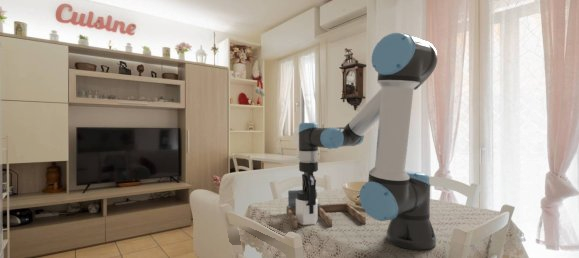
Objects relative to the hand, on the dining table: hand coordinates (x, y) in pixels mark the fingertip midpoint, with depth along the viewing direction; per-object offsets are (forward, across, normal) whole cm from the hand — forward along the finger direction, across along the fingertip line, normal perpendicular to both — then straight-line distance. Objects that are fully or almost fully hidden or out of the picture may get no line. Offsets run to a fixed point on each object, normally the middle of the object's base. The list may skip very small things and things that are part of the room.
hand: (308, 218), depth 117 cm
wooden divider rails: (+1, +2, -7) cm, 7 cm away
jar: (+1, 0, +1) cm, 1 cm away
